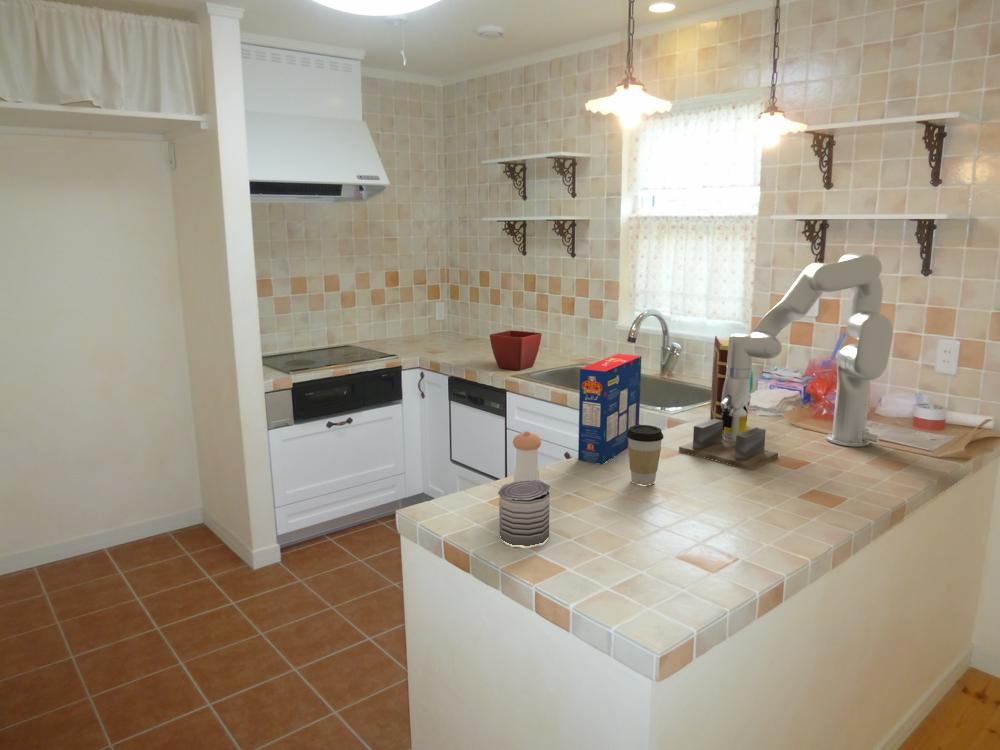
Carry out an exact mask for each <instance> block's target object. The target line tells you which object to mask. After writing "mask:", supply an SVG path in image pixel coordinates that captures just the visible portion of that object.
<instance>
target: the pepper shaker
mask: <svg viewBox="0 0 1000 750" xmlns="http://www.w3.org/2000/svg"><path fill="white" fill-rule="evenodd" d="M512 445H513V447H514V448H515V466H514V473H513V482H516V481H519V480H540V481H541V475H540V469H539V448H540V447H541V445H542V440H541V438H540V437H539V435H538V434H535V433H533V432H530V431H529V430H525V431H524V432H522V433H519V434H516V435H515V436H514V437H513V439H512Z"/></svg>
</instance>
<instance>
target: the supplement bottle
mask: <svg viewBox="0 0 1000 750" xmlns="http://www.w3.org/2000/svg"><path fill="white" fill-rule="evenodd" d="M743 407H744V403H742V404H741V405H740V408H738V409H734V410H733V412H732V415H731V416H732V427H731V428H727V427H724V434H723V440H725V441H729V442H733V443H736V436H737V435H739V434H742V433H744V432H747V422H746V420H747V421H748V413H747V412H746V411H745V410H744V409H743ZM728 410H729V411H730V409H728Z"/></svg>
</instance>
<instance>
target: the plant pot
mask: <svg viewBox="0 0 1000 750" xmlns="http://www.w3.org/2000/svg"><path fill="white" fill-rule="evenodd" d="M542 335H543V333H541V332H534V331H533V332H532V331H521V330H505V331H500V332H494V333H491V334H489V341H490V345H491V350H492V353H493V356H494V359H495V362H496V364H497V368H500V369H506V370H514V371H522V370H525V369H528V368H532V367H533V366H534V364H535V361H536V359H537V356H538V352H539V351H540V346H541V345H540V344H541V341H542Z"/></svg>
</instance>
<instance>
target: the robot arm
mask: <svg viewBox="0 0 1000 750" xmlns="http://www.w3.org/2000/svg"><path fill="white" fill-rule="evenodd" d="M882 270H883V266H882V263H881V261H880V259H879V258H878V257H876V256H875V255H872V254H870V253H869V254H868V253H860V252H849V253H845V254H844V255H842V256H841V257H840V258H839V260H838V261H836V262H831V263H825V262H812V263H811V264H808V266H806V267H805V268H804V270H803V271H802V272H801V273H800V275H798V278H797V279H796V280H795V282H793V284H792V286H790V289H789V290H788V291H787V292H786V293H785V295H784V296H783V298H782V299H781V300H780V301H779V302H778V303H777V304H776V305H775V306H774V307H773V308H772V309H770V310H769V311H768V312H767V313H766V314H765V315H764V316H763V317H762V318H761V319H760V320H759V322H758V323H757V325H756V326H755V327H754V329H753V330H752V331H751V332H750V334H748V333H733V334H731V335H730V336H729V338H728V340H729V344H728V357H727V369H726V378H725V382H724V387H723V393H722V400H721V411H722V420H723V427H727V428H731V427H732V416H731V415H732V412H733V410H734V409H738V408H740V405H741V404H742V403H744V407H743V409H744V410H745V411H746V412H747V414H748V411H749V406H750V404H751V402H750V401H751V398H752V395H751V393H750V392H751V390H750V389H751V380H750V379H751V377H752V364H753V358H755V359H756V358H757V359H763V360H772V359H774V358H777V357H778V356H779V355H780V354H781V352H782V347H783V346H782V343H781V341H780V340H779V339H778V338H777V336H778V335H779V334H780V333H781V332H782V330H784V329H785V328H786V327H787V326H788V325H790V324H792V323H794V322H796V321H799V320H800V319H803V318H804V317H805V316H807V315H808V313H809V312H810V310H811V309H812V307H813V306H814V305H815V303H816V302H817V301H818V300H819V298H820V297H821V295H822V294H823V293H833V292H837V291H843V290H847V289H850V290H851V299H850V307H849V310H848V317H847V322H846V332H847V335H849V336H850V337H851V338H853V339H855V340H857V343H849V344H847V345H845V346H843V347H842V348H841V349H840V350H839V352H838V354H837V357H836V374H837V376H836V377H837V379H836V381H837V382H836V392H835V402H834V411H833V423H832V430H831V431H832V432H830V433H828V434H826V436H825V437H826V440H827V441H829V442H830V443H832V444H835V445H839V446H843V447H856V448H857V447H867V446H869V445H870V444H871V442H873V443H879V441H880V437H879V436H878V435H877V434H875V433H874V434H873V433H870V428H867V422H868V421H867V420H868V410H869V402H870V393H871V381H874V380H877V379H879V378H880V377H881V376H882V375H883V374H884V373H885V371H886V369H887V365H888V362H889V357H890V351H891V347H892V342H893V336H894V328H893V324H892V321H891V320H890V319H889V317H887V316H886V315H884V314H882V313H881V310H882V304H883V303H882V301H883V293H884V292H883V291H884V290H883V284H882V281H881V279H880V275H881V273H882ZM728 409H730V411H729V410H728ZM747 421H748V419H747V420H746V423H747Z"/></svg>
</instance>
